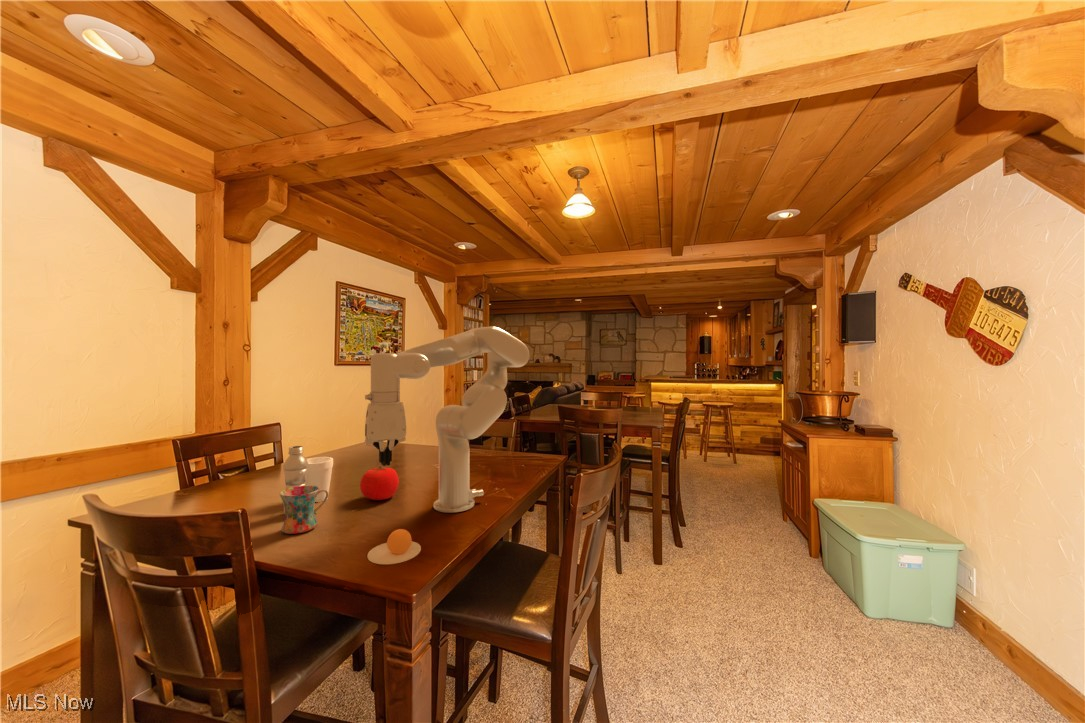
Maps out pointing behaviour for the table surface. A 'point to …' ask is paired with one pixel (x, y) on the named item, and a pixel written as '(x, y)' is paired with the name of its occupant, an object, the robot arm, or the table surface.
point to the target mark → (392, 554)
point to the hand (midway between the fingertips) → (385, 464)
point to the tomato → (379, 483)
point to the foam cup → (319, 475)
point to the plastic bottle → (295, 468)
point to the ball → (399, 541)
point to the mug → (300, 508)
